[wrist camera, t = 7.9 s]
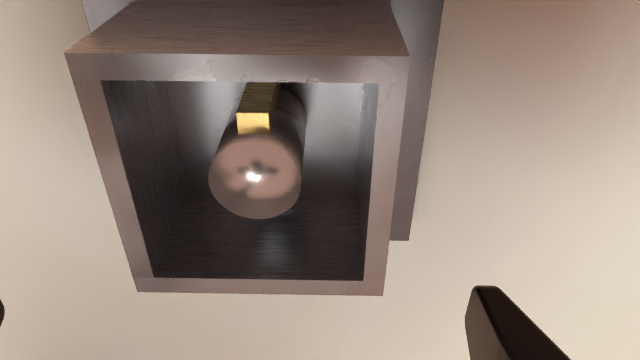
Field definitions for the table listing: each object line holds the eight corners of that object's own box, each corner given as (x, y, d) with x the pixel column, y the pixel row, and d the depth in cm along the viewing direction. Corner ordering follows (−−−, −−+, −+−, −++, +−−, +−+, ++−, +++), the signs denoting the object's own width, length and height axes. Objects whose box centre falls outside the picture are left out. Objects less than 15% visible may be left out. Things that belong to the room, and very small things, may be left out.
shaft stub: (405, 223, 19) (423, 314, 15) (153, 220, 19) (109, 309, 15) (443, -57, 13) (488, -21, 9) (83, -59, 13) (-13, -25, 10)
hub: (372, 210, 17) (383, 296, 14) (174, 208, 17) (137, 291, 14) (390, 5, 13) (410, 56, 10) (130, 3, 13) (64, 52, 10)
